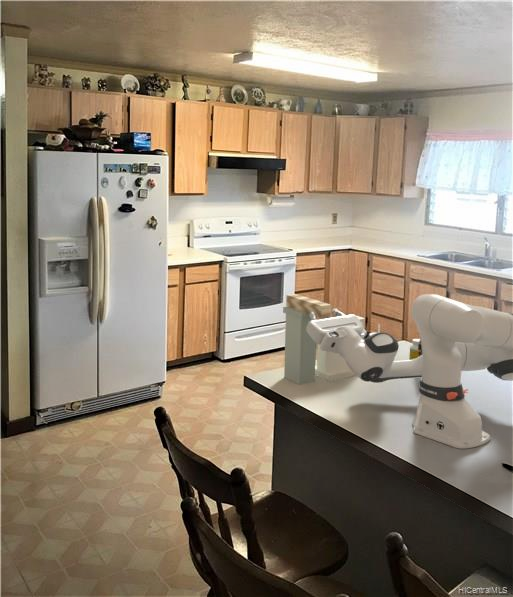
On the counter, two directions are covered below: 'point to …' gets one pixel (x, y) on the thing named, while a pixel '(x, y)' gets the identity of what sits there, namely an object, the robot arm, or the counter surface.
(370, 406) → the counter surface
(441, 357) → the robot arm
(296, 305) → the rod
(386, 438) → the counter surface
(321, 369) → the white slab on base
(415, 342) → the supplement bottle
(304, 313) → the tall grey square pillar
